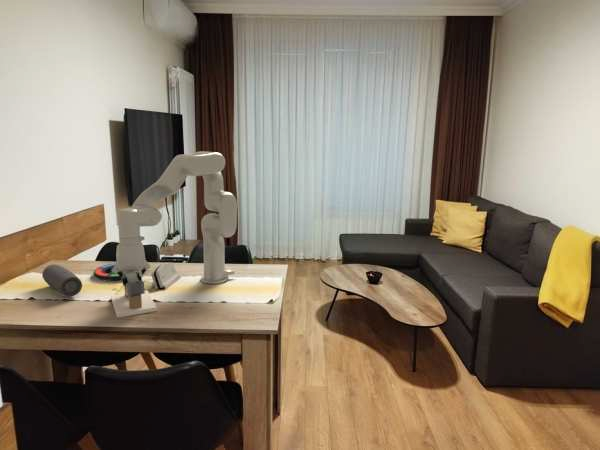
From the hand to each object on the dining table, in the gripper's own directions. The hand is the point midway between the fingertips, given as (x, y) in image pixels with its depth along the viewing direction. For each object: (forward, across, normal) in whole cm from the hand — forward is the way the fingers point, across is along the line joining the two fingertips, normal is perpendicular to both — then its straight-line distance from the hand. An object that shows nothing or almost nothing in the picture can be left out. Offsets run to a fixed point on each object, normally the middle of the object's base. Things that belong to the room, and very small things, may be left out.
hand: (132, 285), depth 159 cm
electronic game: (+8, 0, -41) cm, 42 cm away
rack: (+8, 0, 0) cm, 8 cm away
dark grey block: (+1, 0, 0) cm, 1 cm away
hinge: (+8, -17, -20) cm, 28 cm away
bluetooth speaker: (+8, +24, -27) cm, 37 cm away
